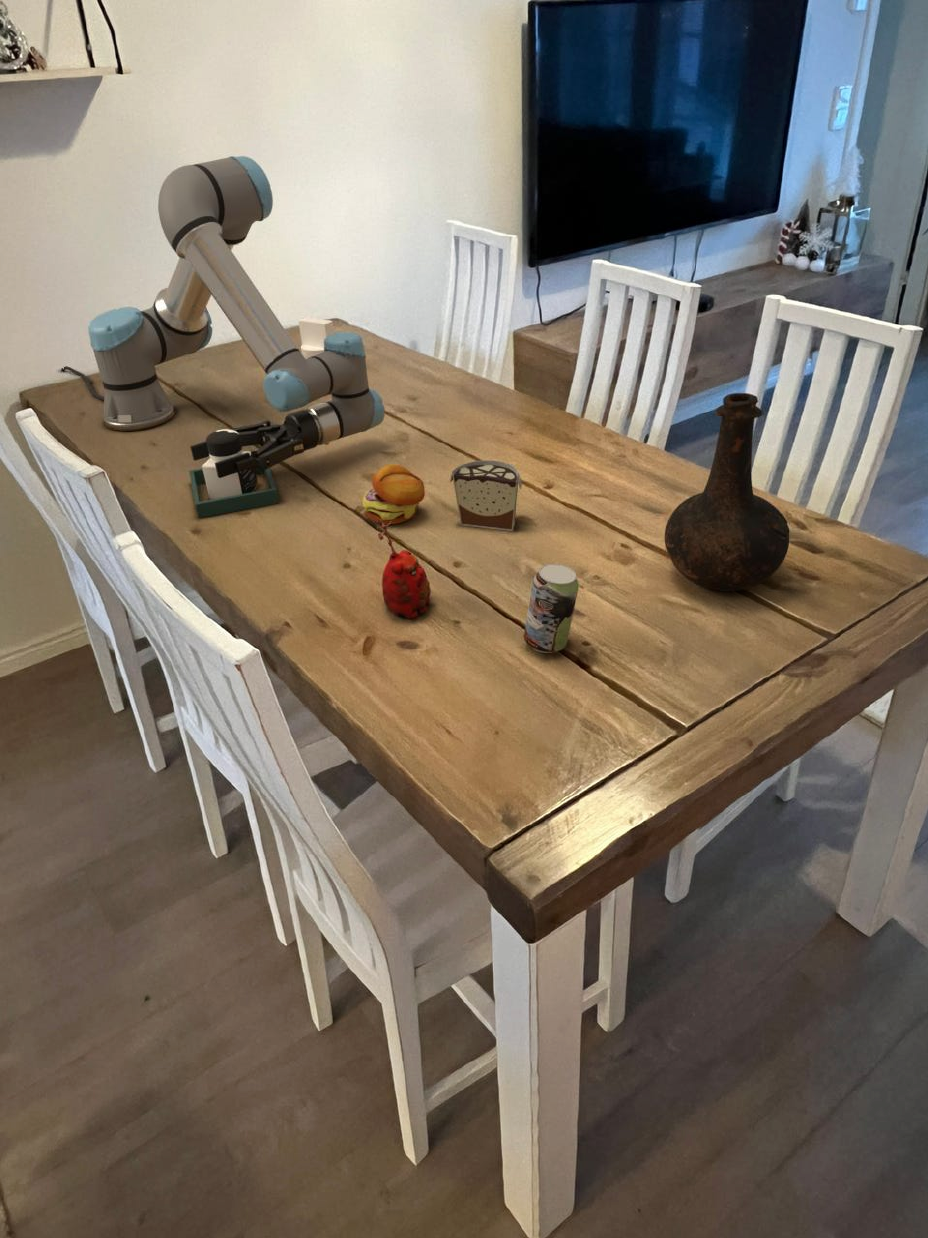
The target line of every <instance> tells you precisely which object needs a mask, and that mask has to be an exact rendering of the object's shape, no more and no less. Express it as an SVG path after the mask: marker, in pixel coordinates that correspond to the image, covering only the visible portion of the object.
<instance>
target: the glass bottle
mask: <svg viewBox="0 0 928 1238" xmlns="http://www.w3.org/2000/svg"><path fill="white" fill-rule="evenodd" d="M722 403H723V404H722V405H720V406H718V407H716V409H715V415H717V416H719V417H721V420H720V426H719V431H718V437H717V442H716V445H715V446H716V447H715V450H714V451H715V452H714V455H713V460H712V464H711V468H710V472H709V475H708V479H707V481H706V484H705V487H704V489H703V491H702V492H700V493H697V494H695V495H691V496H690V497H688V498H686V499H684V501H682V502H681V503H679V504H678V505H677V506H676V507H675V509H673V511H672V513H671V514H670V516H669V517H668V520H667V522H666V525H665V529H664V545H665V549H666V553H667V555H668V557H669V559H670V561H671V563H672V565H673V566H674V568H676V570H677V571H678V572H679V573H680V574H681V575H682V576H683V577H684V578H685V579H687V580H689V581H690V582H691V583H694V584H695V585H698V586H700V587H702V588H706V589H708V590H712V591H720V592H736V591H737V592H738V591H743V590H747V589H750V588H753V587H756V586H758V585H760V584H762V583H764V582H765V581H767V580H768V579H769V578H770V577H772V576H773V575H774V574H775V573H776V572H777V571H778V569H779V568H780V567H781V566H782V564H783V562H784V561H785V558H786V556H787V553H788V551H789V547H790V527H789V525H788V521H787V519H786V517H785V516H784V513H782V512H781V511H780V510H779V509H778V508H777V507H776V506H775V505H773V503H771V502H770V501H768V500H766V499H765V498H763V497H761V496H759V495H756V494H754V489H753V479H752V477H753V475H752V472H753V470H752V465H753V464H752V462H753V461H752V460H753V439H754V428H755V419H757V418H760V417H762V415H763V410H762V409H760V408H759V407H758V406H757V403H759V399H758V396H756V395H754V394H752V393H747V392H734V393H733V392H732V393H729V394H727V395H725V396H724V397H723V398H722Z"/></svg>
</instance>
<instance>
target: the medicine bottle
mask: <svg viewBox="0 0 928 1238" xmlns="http://www.w3.org/2000/svg"><path fill="white" fill-rule="evenodd" d="M205 441H206V443H207V447H208V452H209V458H208V459H207V461H205V462H204V463H203V464H202V466H201V469H203V473H204V477H205V482H206V483H205V486H206V490H207V493H208V494H207V495H208V500H213V499H218V498H224V497H229V496H234V495H240V494H245V493H251V492H255V490H256V489H257V488H258V487H259V480H258V475H257V474H256V469H255V468H254V466H253V467H252V468H249V469H246V470H243V471H240V472H237V473H234V474H231V475H228V476H225V477H222V478H219V477H218V476H217V471H216V467H215V463H216V462H219V461H223V460H226V459H229V458H232V457H235V456H238V455H241V454H244V453H247V452H248V453H249V454H250V457H251V451H245V450H243V447H242V445H241V440H240V435H239V433H238V432H236V431H234V430H228V429H227V428H225V429H224V428H223V429H219V430H214V431H213V432H211V433H209V434H208V435H207V436H206V438H205Z"/></svg>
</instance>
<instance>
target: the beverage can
mask: <svg viewBox="0 0 928 1238" xmlns="http://www.w3.org/2000/svg"><path fill="white" fill-rule="evenodd" d="M579 588H580V584H579V580H578V579H577V573H576V572H575V571H574V570H573V569H572V568H571V567H569V566H567V565H564V564H560V563H547V564H544V565H542V566H541V567H540V568H539V570H538V572H536V573H535V574H534V577H533V581H532V587H531V592H530V597H529V603H528V608H527V614H526V621H525V627H524V631H523V639H524V641H525V643H526V644H527V645H528V646H529V647H530V648H532V649H533V650H535V651H537V652H540V653H544V654H551V653H555V652H559V651H562V650H563V649H565V648H566V646H567V644H568V640H569V636H570V631H571V625H572V621H573V617H574V610H575V607H576V602H577V597H578V592H579Z"/></svg>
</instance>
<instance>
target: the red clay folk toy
mask: <svg viewBox="0 0 928 1238" xmlns="http://www.w3.org/2000/svg"><path fill="white" fill-rule="evenodd" d="M378 521H380V522H381V523H380V524H381V525H382V527H380V526H379V527H378V526H377V527H376V530H377V529H378V530H381V529H382V530H383V531H382V532H378V534H377V537H378V540H380V541H383V539H384V535H386V537H387V544H388V546H389V547H390V549H391V554H390V555H389V558H388V561H387V562H386V564H385V567H384V569H383V571H382V577H381V587H382V597H383V602H384V605H385V606H386V607H387V609H388V610H389V611H390V612H391V613H392V614H393V615H394V616H396V617H398V618H403V617H404V618H405V619H409V620H410V619H415V618H416V617H418V616H419V615H422V614H423V613H426V612H427V606H429V605H430V603H431V599H430V596H431V592H432V591H431V587H430V586H431V585H430V584H431V583H430V581H429V579H428V576H427V574H426V571H425V569H424V567H423V566H422V565H421V564H420V562H419V559H418V557H417V556H416V555H413V554H412V552H411V551H409V550H406V549H403V550H402V551H400V552H399V553H398V552H396V550H395V548H394V546H393V542H394V539H391V538H390V535H389V532H388V530H387V529H388V527H389V526H390V525H392V524H391V523H392V522H390V523H389V524H384V523H383V522H382V521H381V520H380V519H379V520H378Z"/></svg>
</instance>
